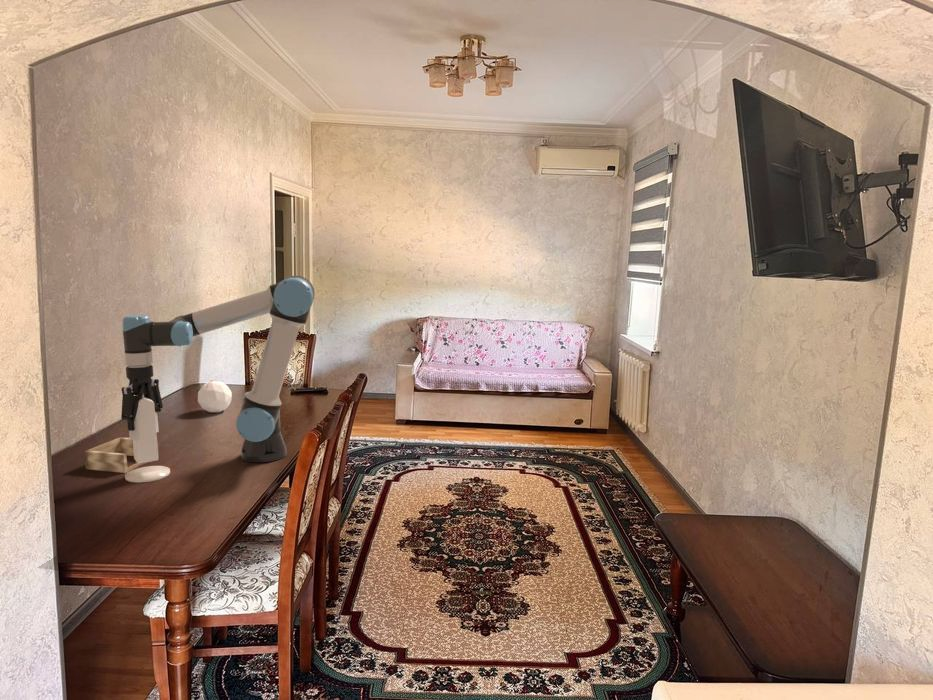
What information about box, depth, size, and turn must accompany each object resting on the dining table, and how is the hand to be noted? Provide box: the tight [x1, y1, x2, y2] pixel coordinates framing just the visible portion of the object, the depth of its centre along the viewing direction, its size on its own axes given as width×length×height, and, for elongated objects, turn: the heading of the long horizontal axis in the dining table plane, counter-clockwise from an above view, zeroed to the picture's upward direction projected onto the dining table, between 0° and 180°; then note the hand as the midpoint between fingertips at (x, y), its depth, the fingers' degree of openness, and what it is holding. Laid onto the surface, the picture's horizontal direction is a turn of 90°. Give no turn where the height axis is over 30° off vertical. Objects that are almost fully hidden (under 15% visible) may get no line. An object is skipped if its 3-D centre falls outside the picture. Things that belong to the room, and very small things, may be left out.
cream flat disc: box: [124, 465, 171, 484], centre depth 208 cm, size 13×13×1 cm
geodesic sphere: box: [197, 379, 233, 413], centre depth 283 cm, size 15×14×14 cm
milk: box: [131, 393, 159, 464], centre depth 206 cm, size 6×6×22 cm
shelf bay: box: [83, 436, 160, 474], centre depth 219 cm, size 15×16×6 cm
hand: (144, 435), depth 206 cm, fingers closed on milk, 8 cm apart
